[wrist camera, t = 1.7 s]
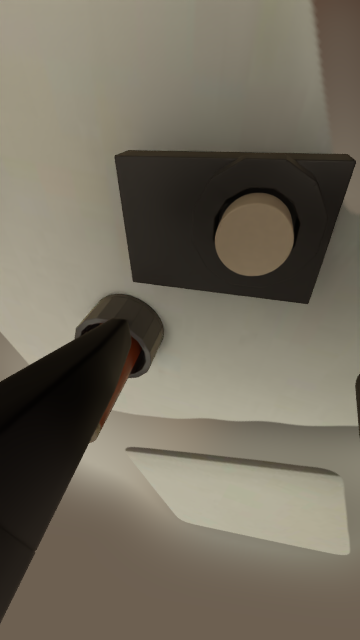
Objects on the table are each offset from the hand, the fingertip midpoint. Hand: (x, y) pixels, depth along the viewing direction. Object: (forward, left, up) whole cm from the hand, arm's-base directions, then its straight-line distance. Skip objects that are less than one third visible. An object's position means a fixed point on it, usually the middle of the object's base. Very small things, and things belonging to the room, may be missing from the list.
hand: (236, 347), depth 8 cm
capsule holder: (+10, +11, -12) cm, 19 cm away
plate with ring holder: (+2, +1, -12) cm, 12 cm away
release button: (0, 0, -9) cm, 9 cm away
